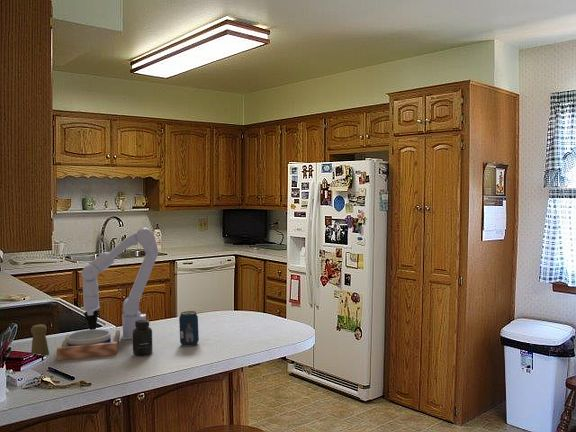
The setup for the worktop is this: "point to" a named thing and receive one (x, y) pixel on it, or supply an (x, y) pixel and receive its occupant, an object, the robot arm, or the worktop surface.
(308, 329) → the worktop surface
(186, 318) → the soda can
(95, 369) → the worktop surface
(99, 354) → the wooden tray
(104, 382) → the worktop surface
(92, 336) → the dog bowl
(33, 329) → the cork
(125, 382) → the worktop surface
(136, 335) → the supplement bottle
